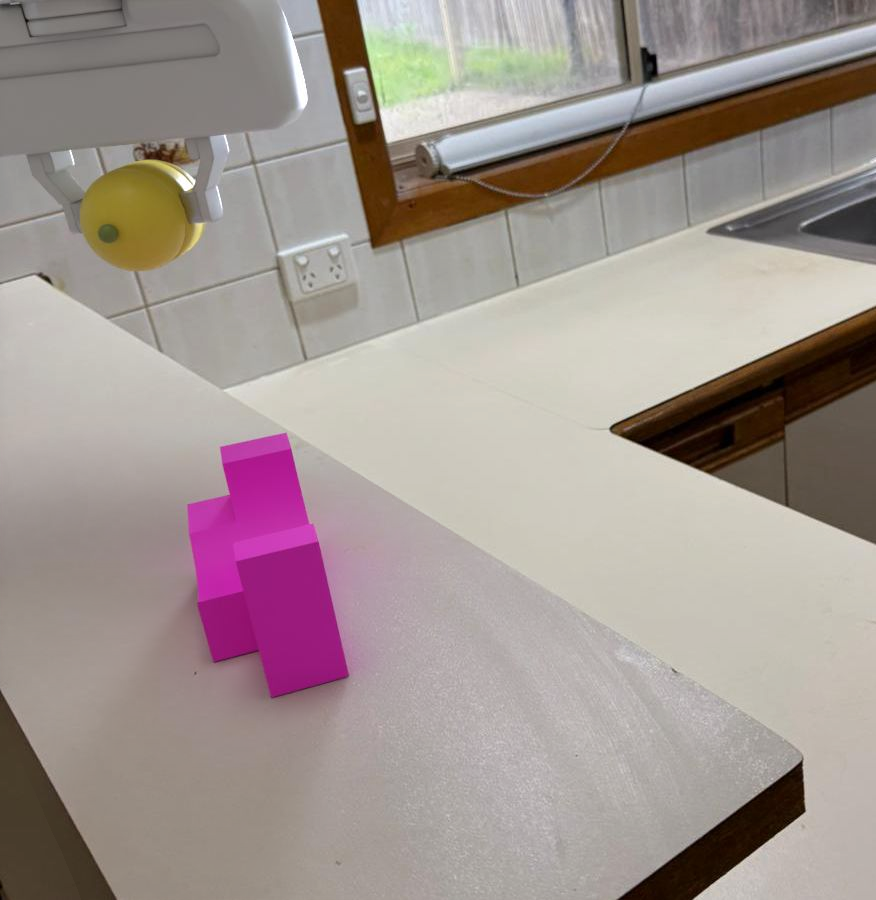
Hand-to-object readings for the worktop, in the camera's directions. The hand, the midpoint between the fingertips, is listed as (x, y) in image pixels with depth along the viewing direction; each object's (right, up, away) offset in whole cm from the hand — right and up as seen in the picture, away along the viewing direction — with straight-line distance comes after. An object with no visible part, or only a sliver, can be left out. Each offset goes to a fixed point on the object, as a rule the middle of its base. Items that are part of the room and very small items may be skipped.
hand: (149, 226), depth 64 cm
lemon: (0, -2, +1) cm, 2 cm away
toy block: (+8, -22, -2) cm, 23 cm away
